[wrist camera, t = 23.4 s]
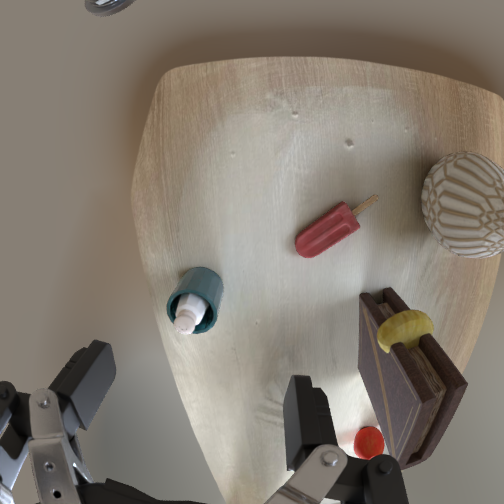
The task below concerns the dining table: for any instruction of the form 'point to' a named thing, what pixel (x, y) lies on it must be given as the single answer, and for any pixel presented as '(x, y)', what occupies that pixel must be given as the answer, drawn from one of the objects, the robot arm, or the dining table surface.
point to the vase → (465, 204)
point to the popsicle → (330, 229)
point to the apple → (368, 443)
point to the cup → (203, 285)
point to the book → (406, 377)
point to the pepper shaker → (190, 312)
